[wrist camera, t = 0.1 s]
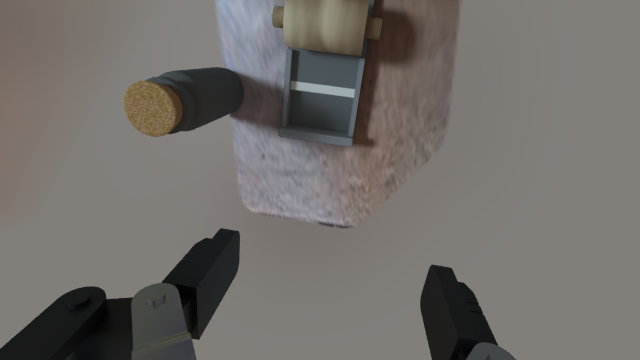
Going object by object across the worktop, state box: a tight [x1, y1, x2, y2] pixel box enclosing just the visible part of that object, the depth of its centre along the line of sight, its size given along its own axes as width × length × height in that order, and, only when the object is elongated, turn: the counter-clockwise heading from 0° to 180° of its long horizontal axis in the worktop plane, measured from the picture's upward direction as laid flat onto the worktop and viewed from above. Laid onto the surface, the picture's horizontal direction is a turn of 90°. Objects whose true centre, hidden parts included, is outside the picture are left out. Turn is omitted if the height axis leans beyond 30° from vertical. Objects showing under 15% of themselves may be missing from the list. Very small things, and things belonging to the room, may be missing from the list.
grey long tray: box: [279, 0, 374, 147], centre depth 35 cm, size 23×9×3 cm, turn 173°
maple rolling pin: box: [272, 0, 383, 56], centre depth 33 cm, size 11×6×6 cm, turn 83°
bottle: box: [124, 67, 243, 137], centre depth 34 cm, size 6×6×15 cm
